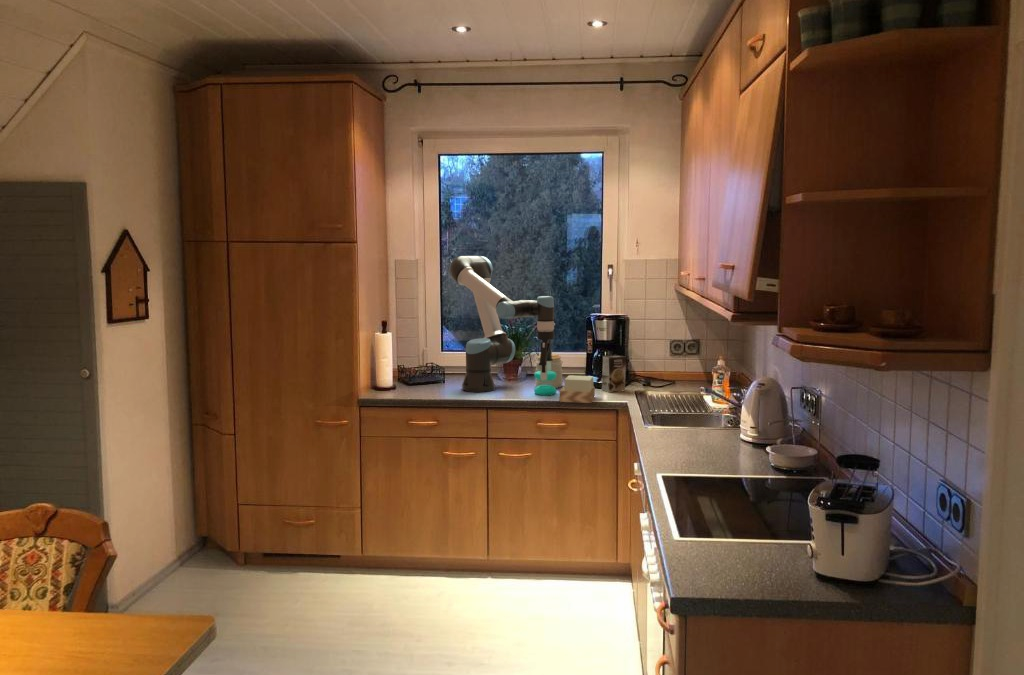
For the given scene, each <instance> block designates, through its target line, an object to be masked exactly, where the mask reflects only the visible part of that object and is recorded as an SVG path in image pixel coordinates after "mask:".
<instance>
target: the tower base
mask: <svg viewBox="0 0 1024 675" xmlns="http://www.w3.org/2000/svg"><path fill="white" fill-rule="evenodd" d="M564 386H565V385H562V387H560V390H559V392H558V393H559V396H558V397H559V400H558V402H560V403H562V402H563V403H582V404H583V403H584V404H587V403H588V404H592V403H593V402H592V401H594V399H595V397H594V396H596V395H595V394H596V393H595V392H596V387H595V386H593V389H592V390H591V391H590V392H577V391H564Z"/></svg>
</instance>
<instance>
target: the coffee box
mask: <svg viewBox="0 0 1024 675" xmlns="http://www.w3.org/2000/svg"><path fill="white" fill-rule="evenodd" d="M626 366H627V357H626V356H624V355H618V354H617V355H603V356H602V369H601V370H602V374H601V375H602V376H601V378H602V379H601V390H602V391H603V390H604V392H607V391H608V393H614V392H613V391H618V392H623V391H622V390H625V391H626Z"/></svg>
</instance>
